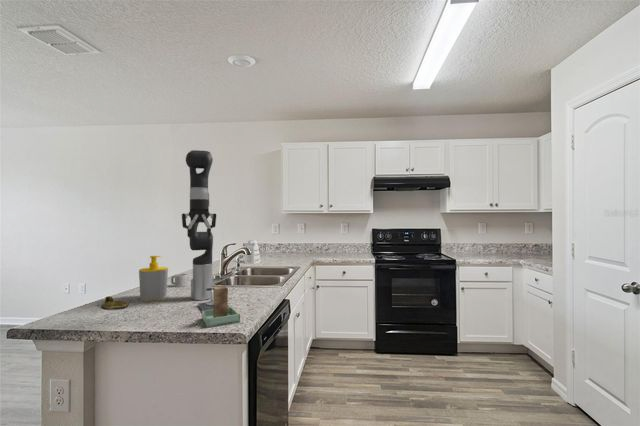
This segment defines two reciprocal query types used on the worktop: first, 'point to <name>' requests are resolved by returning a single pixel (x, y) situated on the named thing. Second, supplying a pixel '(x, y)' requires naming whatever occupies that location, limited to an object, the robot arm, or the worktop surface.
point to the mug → (179, 280)
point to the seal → (113, 304)
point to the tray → (220, 318)
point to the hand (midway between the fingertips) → (199, 237)
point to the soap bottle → (153, 281)
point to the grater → (253, 254)
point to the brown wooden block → (220, 301)
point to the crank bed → (208, 304)
